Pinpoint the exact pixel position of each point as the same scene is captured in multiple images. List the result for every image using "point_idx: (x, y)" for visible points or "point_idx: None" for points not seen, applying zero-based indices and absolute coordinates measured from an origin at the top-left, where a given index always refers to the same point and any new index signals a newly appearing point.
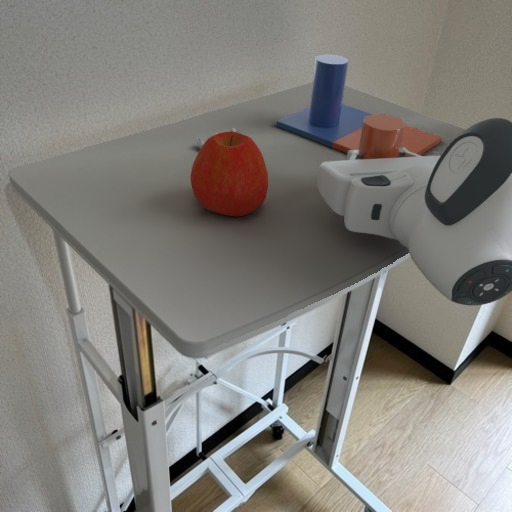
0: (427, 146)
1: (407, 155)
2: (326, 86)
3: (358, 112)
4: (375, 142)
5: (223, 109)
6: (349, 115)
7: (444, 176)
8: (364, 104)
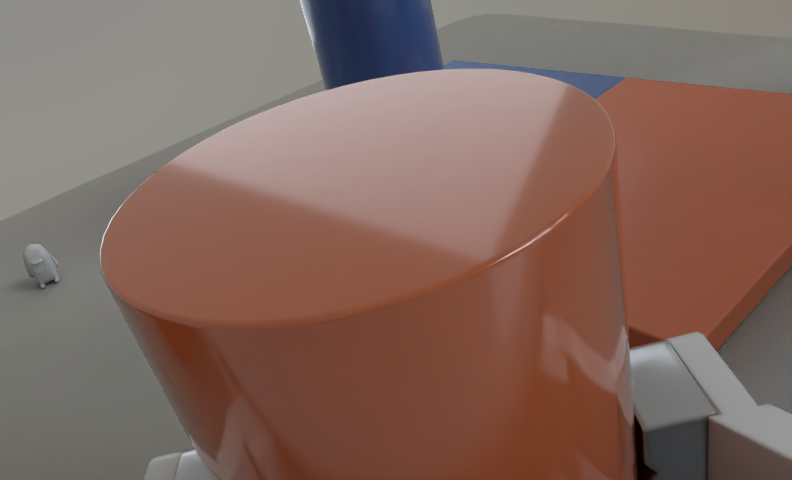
0: None
1: (742, 457)
2: (335, 9)
3: None
4: (228, 465)
5: (133, 162)
6: None
7: None
8: (577, 48)
